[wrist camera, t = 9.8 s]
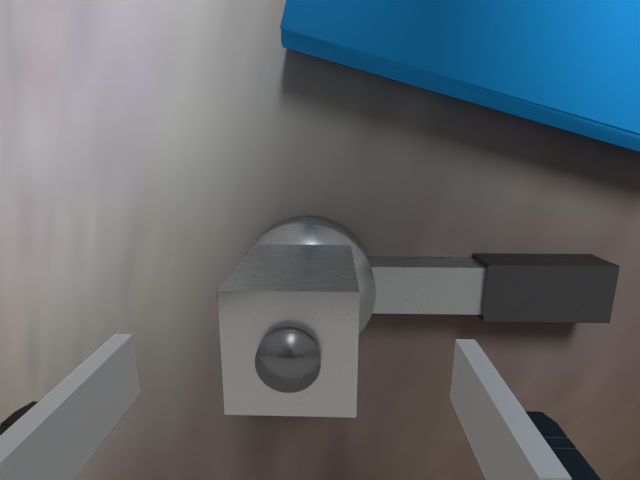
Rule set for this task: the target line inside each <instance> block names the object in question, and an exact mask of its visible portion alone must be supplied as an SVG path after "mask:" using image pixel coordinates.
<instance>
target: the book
mask: <svg viewBox="0 0 640 480" xmlns="http://www.w3.org/2000/svg"><path fill="white" fill-rule="evenodd" d="M280 28H281V41H282V46H283V47H284V48H288V49H291V50H295V51H298V52H301V53H305V54H308V55H312V56H315V57H318V58H322V59H325V60H329V61H332V62H335V63H339V64H342V65H346V66H349V67H352V68H356V69H359V70H363V71H366V72H369V73H373V74H376V75H380V76H383V77H386V78H390V79H393V80H397V81H400V82H403V83H407V84H410V85H414V86H417V87H420V88H424V89H427V90H431V91H434V92H437V93H441V94H444V95H448V96H451V97H454V98H458V99H461V100H465V101H468V102H471V103H475V104H478V105H482V106H485V107H488V108H492V109H495V110H499V111H502V112H505V113H509V114H512V115H516V116H519V117H522V118H526V119H529V120H533V121H536V122H539V123H543V124H546V125H550V126H553V127H556V128H560V129H563V130H567V131H570V132H573V133H577V134H580V135H584V136H587V137H590V138H594V139H597V140H601V141H604V142H607V143H611V144H614V145H618V146H621V147H624V148H628V149H631V150H635V151H638V152H640V0H286V5H285V9H284V13H283V18H282V22H281V26H280Z"/></svg>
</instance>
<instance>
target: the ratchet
mask: <svg viewBox="0 0 640 480" xmlns="http://www.w3.org/2000/svg"><path fill="white" fill-rule="evenodd" d="M255 244H304V245H351V249H352V254H353V259H354V264H355V270H356V275H357V280H358V286H359V291H360V303H359V334H360V333H361V332H362V330H363V329H364V328H365V327H366V325H367V323H368V321H369V319H370V317H371V315H372V313H376V314H465V315H478V316H479V317H480V318H481V320H482V321H483V322H564V323H610V317H611V312H612V306H613V300H614V295H615V289H616V284H617V278H618V273H619V267H620V266H618V265H615V264H613V263H611V262H608V261H606V260H603V259H601V258H599V257H596V256H594V255H591V254H473V258H445V257H368V256H367V254H366V252H365V250H364V248H363V246H362V245H361V243H360V242H359V240H358V239H357V238H356V237H355V236H354V235H353V234H352V233H351V232H350V231H349V230H347V229H346V228H345V227H343V226H342V225H340V224H338V223H336V222H334V221H331V220H328V219H325V218H321V217H316V216H299V217H294V218H289V219H286V220H283V221H281V222H279V223H277V224H275V225H274V226H272V227H271V228H269V229H268V230H267V231H266V232H264V233H263V234H262V235H261V236H260V238H259V239H258V240H257V241H256V242H255ZM251 248H252V247H251ZM247 253H248V252H247Z"/></svg>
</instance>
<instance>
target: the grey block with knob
mask: <svg viewBox="0 0 640 480" xmlns="http://www.w3.org/2000/svg"><path fill="white" fill-rule="evenodd" d="M217 297H218V314H219V330H220V346H221V363H222V379H223V395H224V412H225V415H263V416H309V417H354V418H356V415H357V378H358V340H359V303H360V291H359V286H358V280H357V275H356V270H355V264H354V259H353V254H352V249H351V245H304V244H254V245H253V246H252V248H251V249H250V250H249V251H248V253H247V254H246V255H245V256H244V258H243V259H242V260H241V261H240V263H239V264H238V265H237V266H236V268H235V269H234V270H233V271H232V273H231V274H230V275H229V276H228V278H227V279H226V280H225V281H224V283H223V284H222V285H221V286H220V288H219V289H218V290H217Z"/></svg>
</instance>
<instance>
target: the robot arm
mask: <svg viewBox="0 0 640 480" xmlns="http://www.w3.org/2000/svg"><path fill="white" fill-rule="evenodd" d="M140 393H141V390H140V383H139V375H138V368H137V360H136V353H135V345H134V337H133V334H114V335H113V336H112V337H111V338H109V339H108V340H107V341H106V342H105V343H104V344H103V345H102V346H100V347H99V348H98V349H97V350H96V351H95V352H94V353H93V354H91V355H90V356H89V357H88V358H87V359H86V360H85V361H84V362H82V363H81V364H80V365H79V366H78V367H77V368H76V369H75V370H73V371H72V372H71V373H70V374H69V375H68V376H67V377H66V378H64V379H63V380H62V381H61V382H60V383H59V384H58V385H57V386H55V387H54V388H53V389H52V390H51V391H50V392H49V393H48V394H47V395H45V396H44V397H43V398H42V399H41V400H40V401H39V402H31V403H30V404H28V405H26V406H24V407H23V408H21V409H19V410H17V411H15V412H14V413H13V414H12V415H11V416H9V417H8V418H7V419H6V420H5V421H4V422H2V423H1V426H0V480H74V479H75V478H76V477H77V475H78V474H79V473H80V471H81V470H82V469H83V468H84V466H85V465H86V464H87V462H88V461H89V460H90V458H91V457H92V456H93V454H94V453H95V452H96V451H97V449H98V448H99V447H100V445H101V444H102V443H103V441H104V440H105V439H106V437H107V436H108V435H109V433H110V432H111V431H112V430H113V428H114V427H115V426H116V424H117V423H118V422H119V420H120V419H121V418H122V416H123V415H124V414H125V412H126V411H127V410H128V409H129V407H130V406H131V405H132V403H133V402H134V401H135V399H136V398H137V397H138V395H139V394H140ZM450 400H451V402H452V405H453V407H454V409H455V411H456V414H457V416H458V418H459V420H460V423H461V425H462V427H463V429H464V432H465V434H466V436H467V438H468V441H469V443H470V445H471V447H472V450H473V452H474V454H475V457H476V459H477V461H478V463H479V466H480V468H481V470H482V472H483V475H484V477H485V479H486V480H601V479H600V478H599V477H598V475H597V474H596V473H595V472H594V470H593V469H592V468H591V466H590V465H589V464H588V463H587V461H586V460H585V459H584V457H583V456H582V455H581V454H580V452H579V451H578V450H576V448H575V446H574V445H573V443H572V442H571V441H570V439H567V436H566V434H565V433H564V432H563V430H562V429H561V428H560V427H559V425H558V424H557V423H556V422H555V421H553V420H552V419H551V418H549V417H548V416H547V415H545V414H544V413H542V412H528V411H525V410H524V409H523V408H522V406H521V405H520V403H519V402H518V400H517V399H516V398H515V396H514V395H513V393H512V392H511V390H510V389H509V387H508V386H507V385H506V383H505V382H504V380H503V379H502V377H501V376H500V375H499V373H498V372H497V370H496V369H495V367H494V366H493V365H492V363H491V362H490V360H489V359H488V357H487V356H486V354H485V353H484V352H483V350H482V349H481V347H480V346H479V344H478V343H477V342H476V340H475V339H456V340H455V351H454V362H453V372H452V383H451V394H450Z"/></svg>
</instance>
